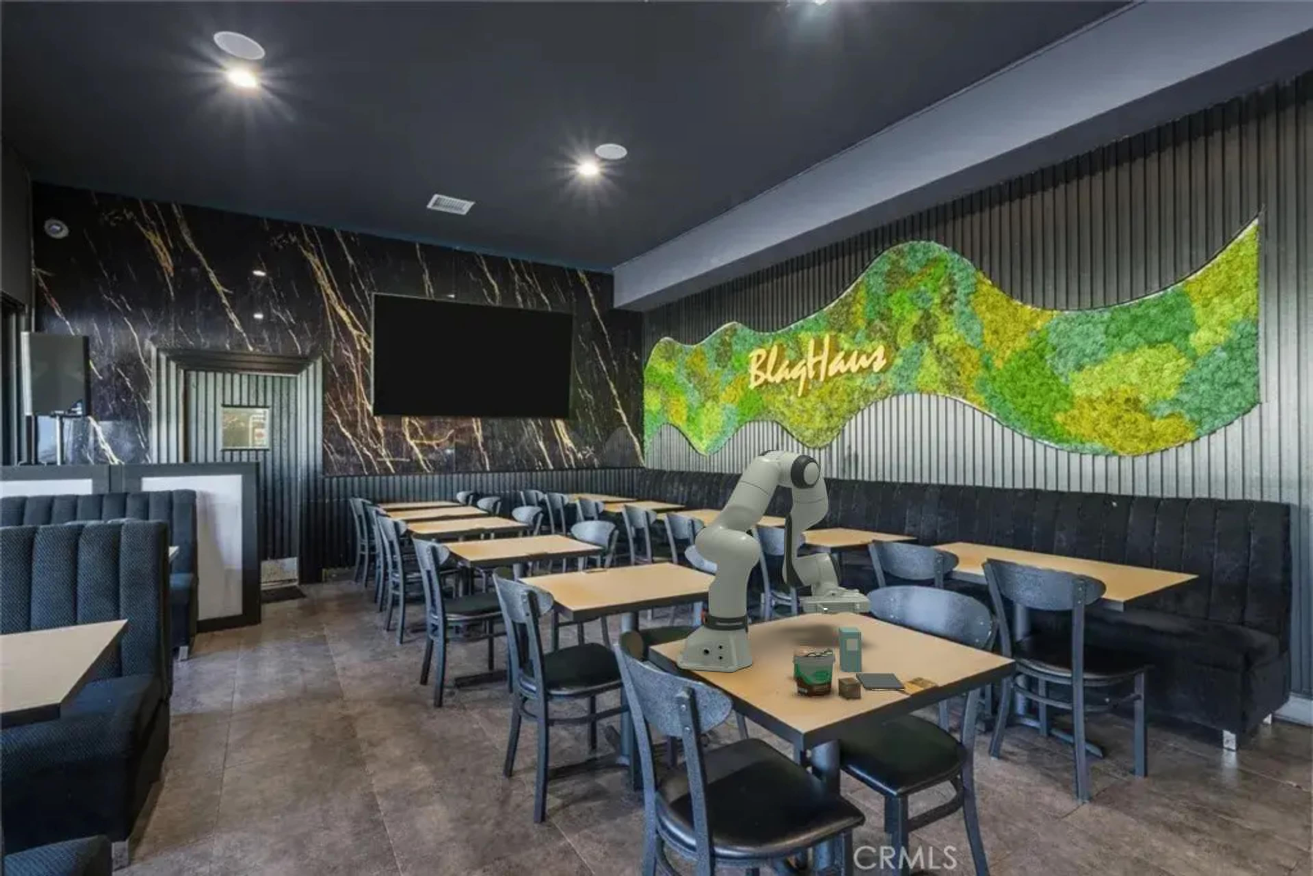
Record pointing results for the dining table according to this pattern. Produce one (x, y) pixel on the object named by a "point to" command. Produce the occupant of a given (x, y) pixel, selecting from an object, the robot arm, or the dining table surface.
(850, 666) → the tall green rectangular block
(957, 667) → the dining table surface
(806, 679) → the food container
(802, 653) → the tan rounded cylinder
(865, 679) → the mat
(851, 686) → the walnut cube
